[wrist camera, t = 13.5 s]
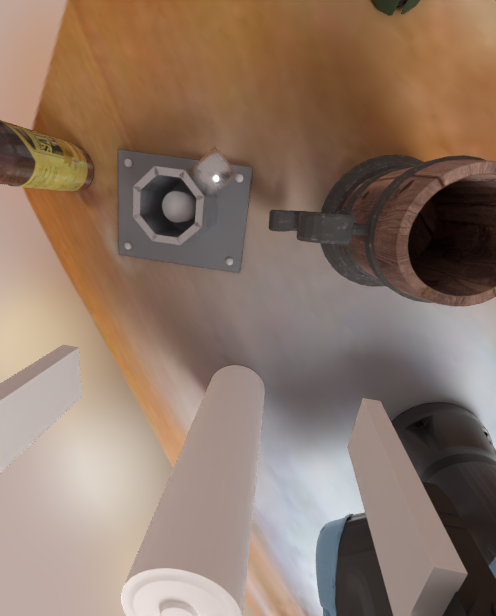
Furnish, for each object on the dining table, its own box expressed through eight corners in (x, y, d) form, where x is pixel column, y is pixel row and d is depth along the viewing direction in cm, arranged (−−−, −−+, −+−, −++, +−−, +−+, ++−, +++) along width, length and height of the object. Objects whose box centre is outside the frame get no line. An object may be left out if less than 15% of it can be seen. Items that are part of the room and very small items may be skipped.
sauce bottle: (100, 154, 41) (-50, 110, 23) (90, 199, 43) (-56, 192, 25) (56, 134, 41) (-133, 73, 22) (48, 180, 43) (-132, 158, 25)
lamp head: (186, 248, 43) (165, 257, 36) (148, 201, 42) (119, 199, 34) (252, 193, 40) (245, 190, 32) (215, 140, 38) (198, 123, 31)
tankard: (468, 157, 37) (662, 102, 18) (434, 290, 42) (557, 357, 23) (275, 150, 39) (268, 95, 20) (266, 278, 44) (254, 330, 25)
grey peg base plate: (253, 168, 40) (248, 161, 34) (239, 271, 44) (233, 281, 39) (121, 150, 41) (96, 141, 35) (122, 253, 45) (99, 260, 40)
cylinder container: (198, 390, 52) (95, 613, 23) (232, 354, 49) (162, 557, 20) (240, 423, 53) (191, 672, 24) (276, 389, 50) (268, 627, 21)
